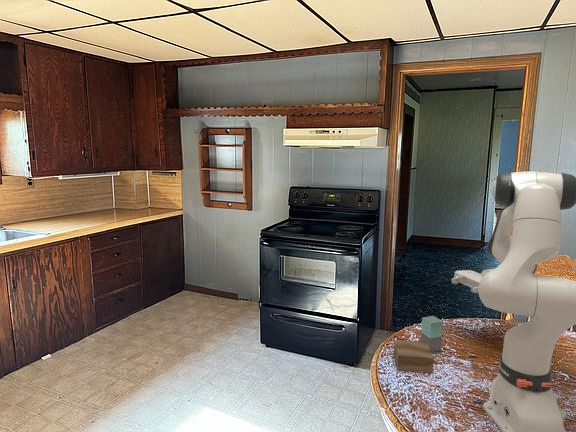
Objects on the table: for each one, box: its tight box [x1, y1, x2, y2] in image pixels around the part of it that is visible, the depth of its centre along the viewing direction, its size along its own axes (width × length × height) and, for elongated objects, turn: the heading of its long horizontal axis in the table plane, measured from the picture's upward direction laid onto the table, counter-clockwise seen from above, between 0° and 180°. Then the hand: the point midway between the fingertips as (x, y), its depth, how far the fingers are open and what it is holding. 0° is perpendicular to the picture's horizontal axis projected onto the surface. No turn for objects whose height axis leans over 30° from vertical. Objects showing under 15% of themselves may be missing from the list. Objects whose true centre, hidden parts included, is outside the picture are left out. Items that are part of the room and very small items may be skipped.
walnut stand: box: [393, 339, 435, 374], centre depth 135 cm, size 11×11×5 cm
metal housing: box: [419, 315, 444, 353], centre depth 145 cm, size 5×5×11 cm
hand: (462, 285), depth 146 cm, fingers open, 8 cm apart
